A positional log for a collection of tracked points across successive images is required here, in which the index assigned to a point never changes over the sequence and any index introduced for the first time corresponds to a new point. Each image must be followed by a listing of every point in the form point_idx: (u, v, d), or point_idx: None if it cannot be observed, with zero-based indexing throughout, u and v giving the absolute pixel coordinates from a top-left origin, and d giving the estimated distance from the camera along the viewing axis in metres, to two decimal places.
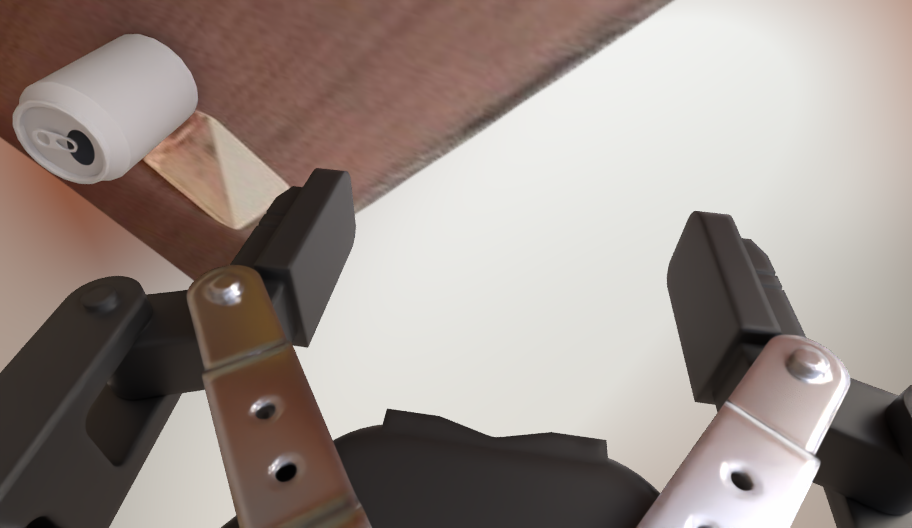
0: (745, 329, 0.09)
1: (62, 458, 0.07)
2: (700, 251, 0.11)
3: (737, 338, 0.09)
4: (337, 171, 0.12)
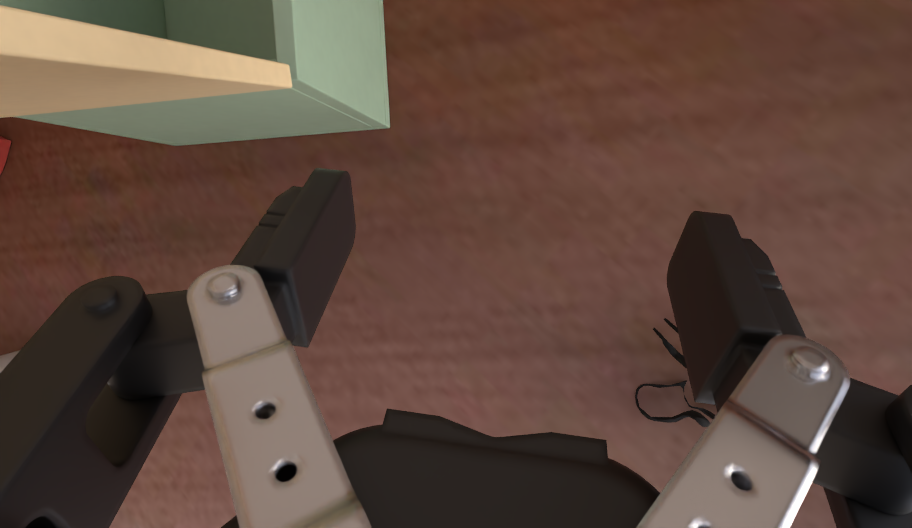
0: (745, 329, 0.09)
1: (61, 458, 0.07)
2: (700, 251, 0.11)
3: (737, 338, 0.09)
4: (337, 171, 0.12)
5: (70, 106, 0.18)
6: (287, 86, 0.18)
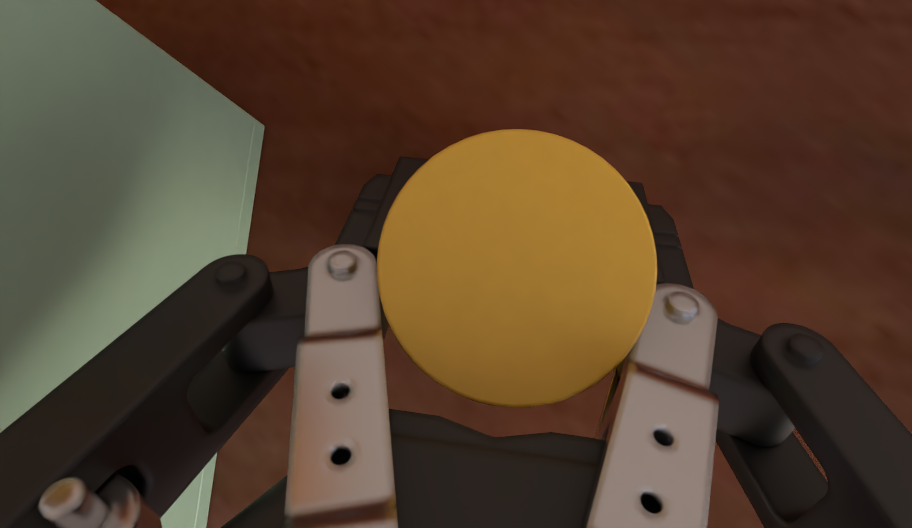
0: None
1: (160, 417, 0.08)
2: None
3: None
4: (421, 159, 0.12)
5: None
6: None
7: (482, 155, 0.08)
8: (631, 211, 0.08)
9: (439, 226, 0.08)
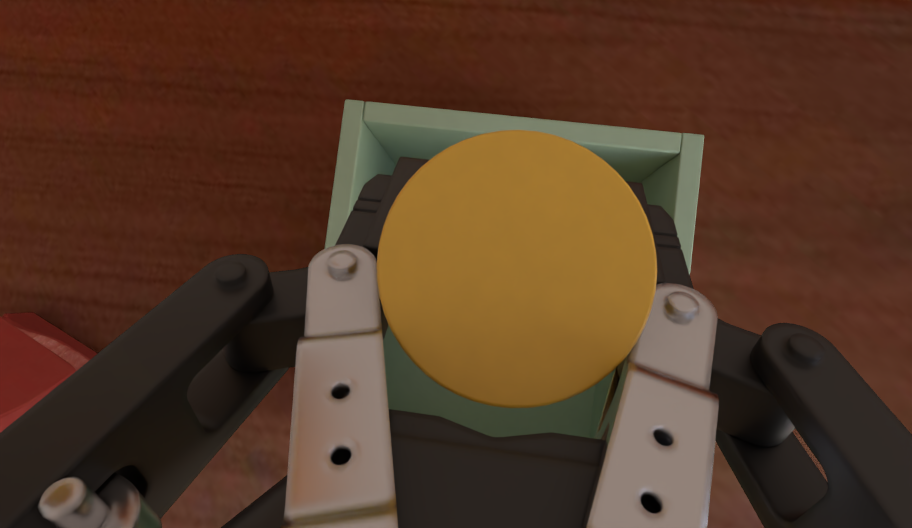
0: None
1: (160, 417, 0.08)
2: None
3: None
4: (421, 159, 0.12)
5: None
6: None
7: (482, 156, 0.08)
8: (631, 212, 0.08)
9: (439, 227, 0.08)
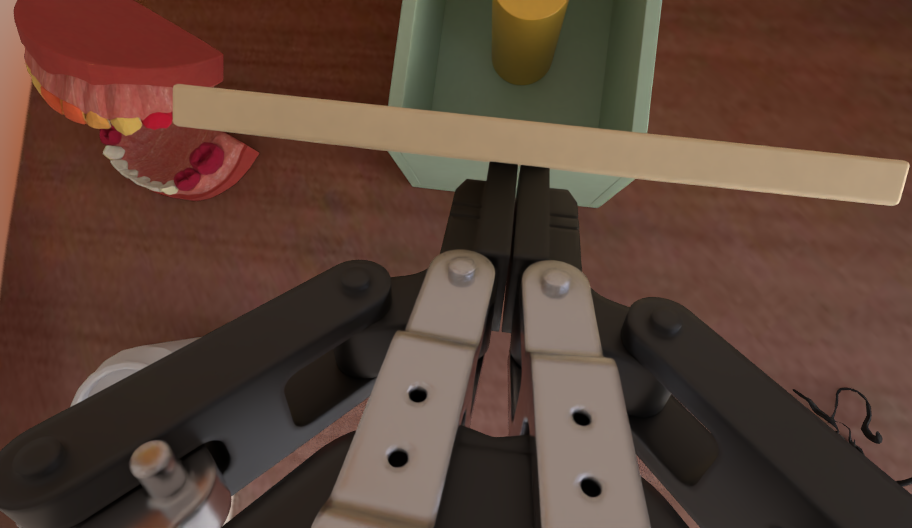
0: (517, 257, 0.10)
1: (255, 403, 0.08)
2: (516, 199, 0.12)
3: (515, 266, 0.10)
4: (510, 164, 0.12)
5: None
6: None
7: None
8: None
9: None
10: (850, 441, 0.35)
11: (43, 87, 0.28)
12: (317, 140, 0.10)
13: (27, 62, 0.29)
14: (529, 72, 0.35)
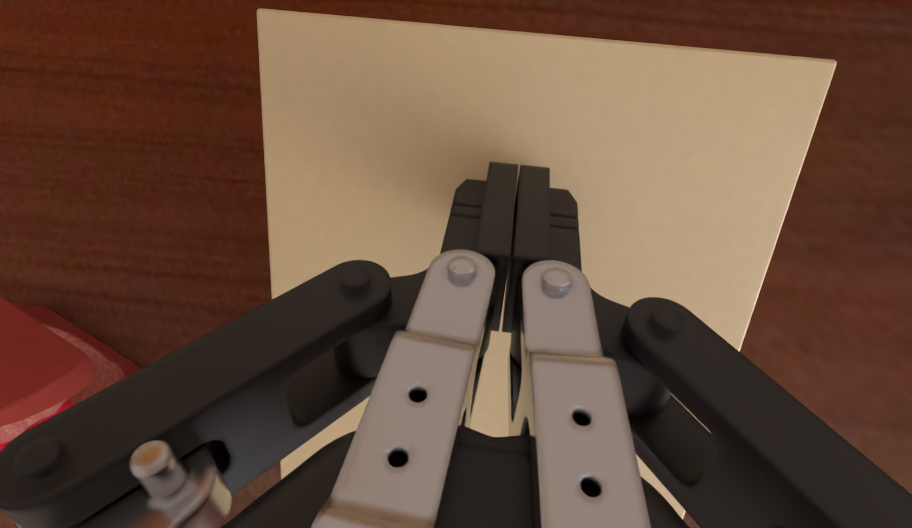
0: (517, 256, 0.10)
1: (255, 403, 0.08)
2: (516, 199, 0.12)
3: (515, 266, 0.10)
4: (510, 164, 0.12)
5: None
6: None
7: None
8: None
9: None
10: None
11: None
12: (373, 20, 0.12)
13: None
14: None
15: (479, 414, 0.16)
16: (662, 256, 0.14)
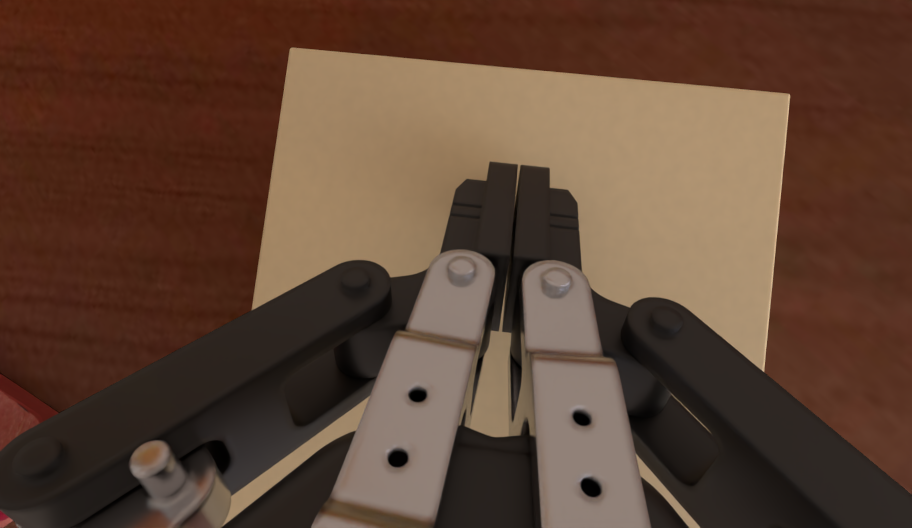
0: (517, 257, 0.10)
1: (255, 403, 0.08)
2: (516, 199, 0.12)
3: (515, 266, 0.10)
4: (510, 164, 0.12)
5: None
6: None
7: None
8: None
9: None
10: None
11: None
12: (391, 57, 0.14)
13: None
14: None
15: None
16: (665, 272, 0.14)
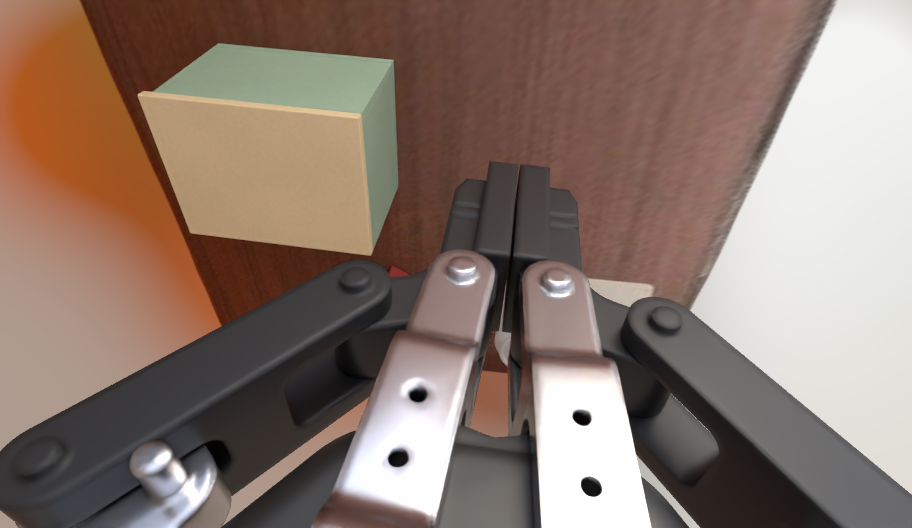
0: (517, 257, 0.10)
1: (255, 403, 0.08)
2: (516, 199, 0.12)
3: (515, 266, 0.10)
4: (510, 164, 0.12)
5: (349, 200, 0.44)
6: (353, 117, 0.39)
7: None
8: None
9: None
10: None
11: None
12: (181, 208, 0.47)
13: None
14: None
15: (290, 187, 0.44)
16: (209, 133, 0.41)
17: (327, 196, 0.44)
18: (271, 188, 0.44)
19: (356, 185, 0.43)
